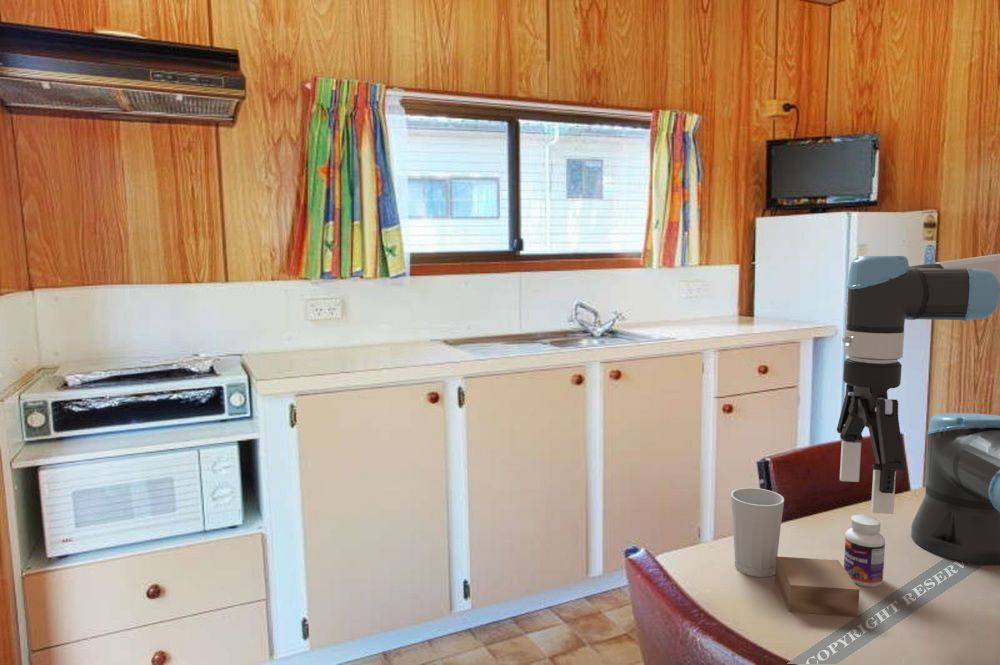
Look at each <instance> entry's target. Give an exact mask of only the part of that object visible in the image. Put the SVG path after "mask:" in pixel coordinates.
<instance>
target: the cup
mask: <svg viewBox="0 0 1000 665" xmlns="http://www.w3.org/2000/svg"><path fill="white" fill-rule="evenodd" d="M730 499H731V501H730V502H731V511H732V512H731V513H732V529H733V530H732V531H733V532H732V533H733V546H734V547H733V548H734V549H733V550H734V567H735V569H736V568H737V569H738V570H737V569H736V570H737V571H739V572H740V571H741V572H740V573H742V574H744V575H748V576H751V577H752V576H753V577H758V578H767V577H771V576H775V566H776V556H777V557H778V554H779V553H778V552H779V546H780V545H779V544H780V536H781V526H782V520H783V513H784V507H785V506H784V505H785V498H784V496H783V495H782V494H779V493H777V492H776V491H772V490H769V489H765V488H759V487H745V488H744V487H742V488H741V487H740V488H737V489H734V490H733V491H732V492H730Z"/></svg>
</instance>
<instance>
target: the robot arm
mask: <svg viewBox="0 0 1000 665" xmlns="http://www.w3.org/2000/svg"><path fill="white" fill-rule="evenodd" d="M909 265H910V264H909V259H908V257H907V256H905V255H859V256H857V257H854V258H853V259H852V261H851V263H850V265H849V266H850V267H849V270H848V281H847V288H846V289H847V307H846V310H847V311H846V313H847V314H846V328H845V329H846V330H845V332H846V333H845V336H842V338H841V339H842V340H841V341H842V343H843V344H844V343H845V344H844V345H845V347H844V348H845V349H844V354H845V355H846V356H847V357H848V358H845V360H844V361H843V377H842V378H843V382H844V383H845V384H846V385H845V396H844V400H843V402H842V407H841V411H840V413H839V414H840V416H839V418H838V419H839V420H838V423H837V427H836V432H837V433H838V434H839V436H840V437H839V438H840V440H841V446H840V447H841V448H840V465H839V467H840V469H839V481H841V482H852V483H853V482H854V483H859V482H860V470H861V454H862V453H861V451H862V441H864V436H863V435H862V434H863V431H864V430H865V428H867V429H868V431H869V436H870V441H871V446H872V451H873V455H874V459H875V463H873V464H872V466H871V467H870V468H871V470H873V471H872V484H871V485H872V487H871V498H870V499H871V501H870V503H871V504H870V512H871V513H873V514H886V515H894V511H895V510H894V509H895V492H896V480H897V479H896V476H897V471H905V468H906V466H905V458H904V451H903V443H902V437H901V435H902V434H901V427H900V422H899V421H900V420H899V401H898V399H893V398H892V399H889V398H888V396H889V395H888V391H889V390H890V389H896V388H898V387H900V385H901V382H902V381H901V379H902V368H903V367H902V364H901V362H900V361H898V360H900V359H902V358H903V356H904V344H905V343H904V341H905V322H906V320H907V321H909V320H911V321H912V320H913V321H915V320H929V321H931V320H932V321H934V320H935V321H936V320H937V321H938V320H939V321H941V320H942V321H945V320H946V321H962V322H967V321H970V320H972V321H973V320H985V319H987V318H989V317H991V316H992V315H993V314H994V313H995V312H996V310H997V308H998V306H999V305H1000V253H995V254H987V255H982V256H975V257H967V258H961V259H960V258H958V259H951V260H945V261H938V262H933V263H926V264H925V263H924V264H918V265H910V266H909ZM926 434H927V452H926V456H927V457H926V475H925V476H926V477H925V490H924V491H925V495H924V497H923V499H922V502H921V504H920V505H919V507H918V509H917V511H916V514H915V516H914V518H913V520H912V523H911V532H910V536H911V539H912V540H913V541H914V543H916V544H917V545H918V546H920V547H921V548H923V549H925V550H927V551H928V552H931V553H933V554H936V555H939V556H941V557H945V558H949V559H951V560H955V561H960V562H964V563H971V564H977V565H989V566H995V565H996V566H997V565H1000V415H995V414H986V413H967V412H964V413H963V412H945V413H938V414H935V415H933V416H932V417H931V418H930V420H929V426H928V432H927V433H926Z"/></svg>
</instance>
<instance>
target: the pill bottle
mask: <svg viewBox="0 0 1000 665" xmlns="http://www.w3.org/2000/svg"><path fill="white" fill-rule="evenodd" d="M885 546H886V538H885V537H884V535H883V534H881V521H880V520H879V519H878V518H877V517H874V516H872V515H865V514H854V515H852V516H851V517H850V528H849V529H847V530H846V531H845V536H844V558H843V568H844V569H845V570H846V572H847V573H848V574H849V576H850V577H851V579H852V580H853V581H854V583H855V584H856V585H857V586H860V587H861V586H862V587H866V588H867V587H869V588H875V587H879V586H881V585H882V583H884V582H883V580H884V569H885V568H884V567H885V565H884V564H885V548H886V547H885Z"/></svg>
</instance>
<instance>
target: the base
mask: <svg viewBox="0 0 1000 665" xmlns="http://www.w3.org/2000/svg"><path fill="white" fill-rule="evenodd" d="M774 576H775V577H774V582H775V584H776V586H777V588H778V591H780V594H781V597H782V598H783V600H784V603H785V605H786V607H787V608H788V609H787V610H788V611H789V612H790V613H801V614H802V613H803V614H805V613H806V614H816V615H817V614H818V615H830V616H831V615H832V616H842V617H843V616H844V617H856V618H857V617H859V609H860V608H859V607H860V606H859V605H860V588H859V587H858V585H857V584H855V583H854V581H853V580H852V579H851V577H850V576H849V574H848V573H847V572H846V570H845V569H844V565H842V564H841V562H840V561H839V560H838V559H827V558H826V559H824V558H823V559H822V558H808V557H792V556H791V557H789V556H778V555H777V556H776V566H775V574H774Z"/></svg>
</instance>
